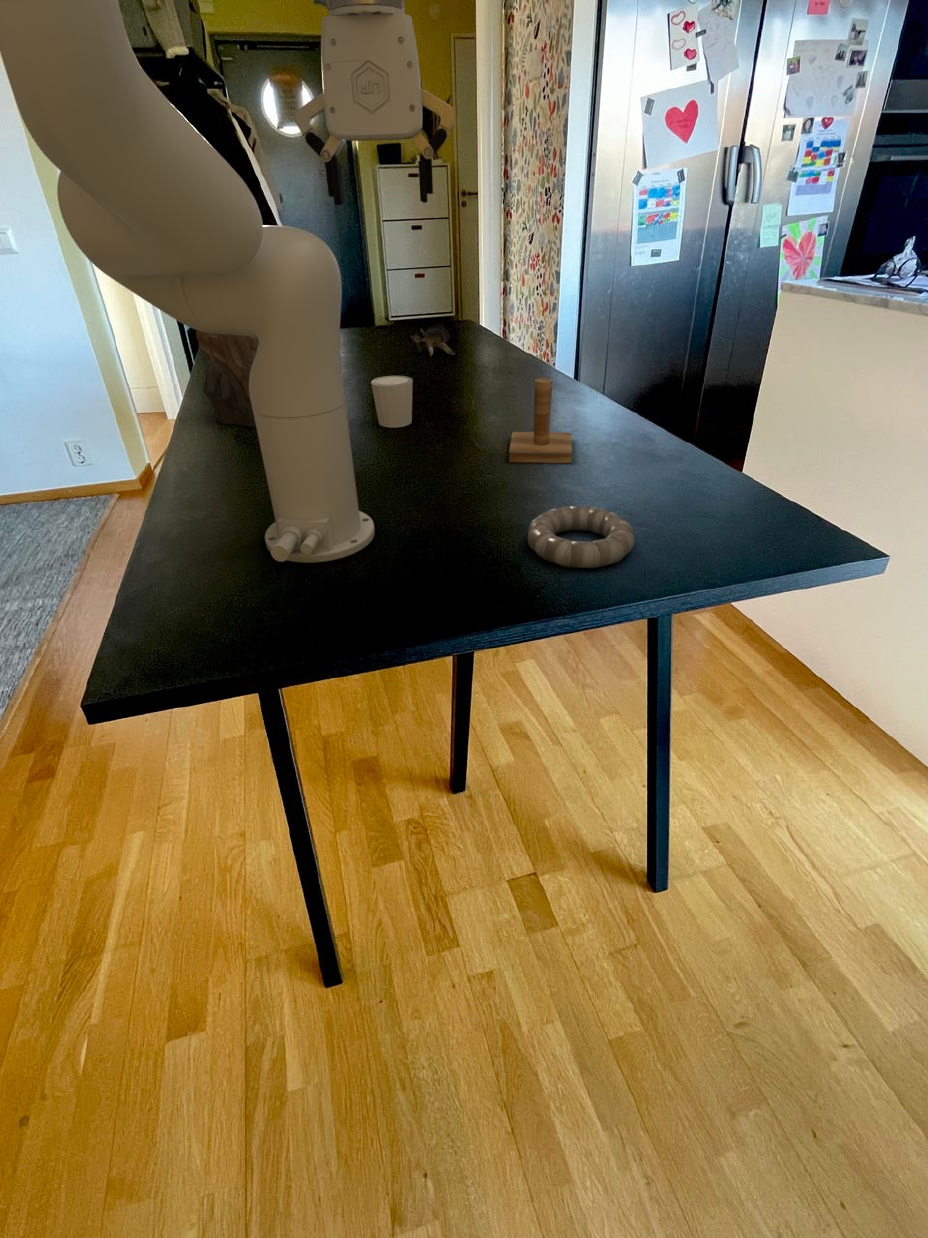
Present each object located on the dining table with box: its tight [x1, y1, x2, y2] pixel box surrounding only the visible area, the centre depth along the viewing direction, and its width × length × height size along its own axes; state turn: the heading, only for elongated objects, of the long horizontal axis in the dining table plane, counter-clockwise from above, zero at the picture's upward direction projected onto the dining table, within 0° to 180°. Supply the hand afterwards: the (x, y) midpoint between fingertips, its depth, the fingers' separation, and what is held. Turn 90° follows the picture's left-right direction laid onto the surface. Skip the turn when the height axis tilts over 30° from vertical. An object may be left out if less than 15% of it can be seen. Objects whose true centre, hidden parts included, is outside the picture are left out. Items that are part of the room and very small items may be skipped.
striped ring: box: [527, 505, 635, 569], centre depth 74 cm, size 12×12×3 cm
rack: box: [508, 377, 573, 464], centre depth 97 cm, size 9×9×10 cm
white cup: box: [370, 375, 414, 429], centre depth 111 cm, size 7×7×7 cm
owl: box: [195, 330, 259, 429], centre depth 113 cm, size 13×13×20 cm
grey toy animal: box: [410, 324, 456, 357], centre depth 153 cm, size 8×7×9 cm
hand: (382, 203), depth 75 cm, fingers open, 9 cm apart
